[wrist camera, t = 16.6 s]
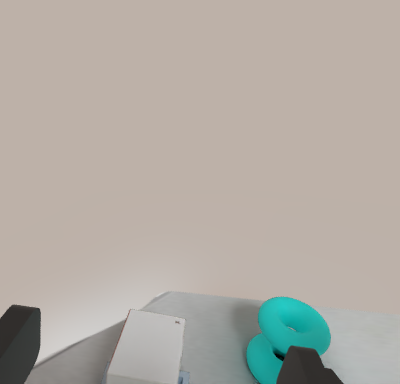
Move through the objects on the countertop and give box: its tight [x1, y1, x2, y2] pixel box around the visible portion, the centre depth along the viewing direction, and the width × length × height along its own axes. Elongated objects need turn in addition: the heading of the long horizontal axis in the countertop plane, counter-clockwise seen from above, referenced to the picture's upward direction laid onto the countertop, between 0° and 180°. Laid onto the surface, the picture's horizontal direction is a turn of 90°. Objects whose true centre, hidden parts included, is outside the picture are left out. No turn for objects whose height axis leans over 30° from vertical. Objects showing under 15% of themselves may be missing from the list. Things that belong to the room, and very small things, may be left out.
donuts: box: [246, 297, 331, 384], centre depth 45 cm, size 10×10×10 cm
